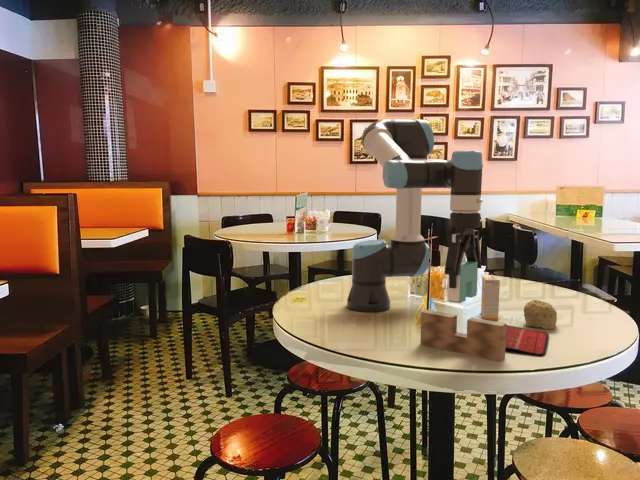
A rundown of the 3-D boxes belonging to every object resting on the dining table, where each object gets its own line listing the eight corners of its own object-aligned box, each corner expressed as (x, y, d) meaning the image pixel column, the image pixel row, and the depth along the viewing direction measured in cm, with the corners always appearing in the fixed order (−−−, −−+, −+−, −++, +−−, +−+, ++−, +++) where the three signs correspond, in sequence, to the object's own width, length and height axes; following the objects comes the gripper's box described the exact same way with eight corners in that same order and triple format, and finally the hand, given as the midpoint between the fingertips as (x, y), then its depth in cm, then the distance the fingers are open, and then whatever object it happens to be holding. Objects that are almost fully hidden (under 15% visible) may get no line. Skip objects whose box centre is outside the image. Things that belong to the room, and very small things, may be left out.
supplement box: (498, 320, 164) (500, 280, 162) (483, 319, 164) (484, 279, 163) (495, 313, 172) (497, 275, 170) (480, 312, 173) (481, 274, 171)
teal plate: (460, 303, 128) (461, 267, 127) (448, 301, 130) (449, 266, 129) (476, 295, 137) (477, 261, 136) (465, 293, 139) (466, 260, 138)
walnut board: (420, 343, 141) (421, 311, 140) (425, 341, 143) (426, 309, 142) (501, 361, 127) (502, 326, 126) (505, 358, 130) (506, 323, 129)
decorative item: (555, 337, 158) (554, 307, 163) (559, 325, 150) (558, 294, 155) (522, 335, 161) (522, 305, 166) (524, 323, 153) (524, 293, 158)
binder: (480, 341, 137) (492, 321, 156) (480, 349, 137) (491, 329, 156) (546, 353, 130) (549, 331, 149) (545, 361, 130) (549, 338, 149)
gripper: (461, 214, 119) (458, 307, 122) (495, 210, 138) (493, 290, 140) (431, 213, 124) (429, 302, 126) (468, 209, 142) (466, 287, 145)
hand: (462, 296), depth 133 cm, fingers closed on teal plate, 11 cm apart
